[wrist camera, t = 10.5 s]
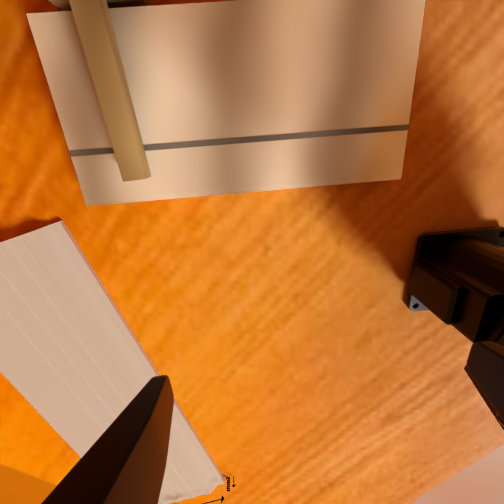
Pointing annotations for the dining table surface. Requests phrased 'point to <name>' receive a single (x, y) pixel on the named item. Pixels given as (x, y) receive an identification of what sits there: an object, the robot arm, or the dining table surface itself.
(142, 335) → the dining table surface
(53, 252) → the baseboard molding
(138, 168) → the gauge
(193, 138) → the board
